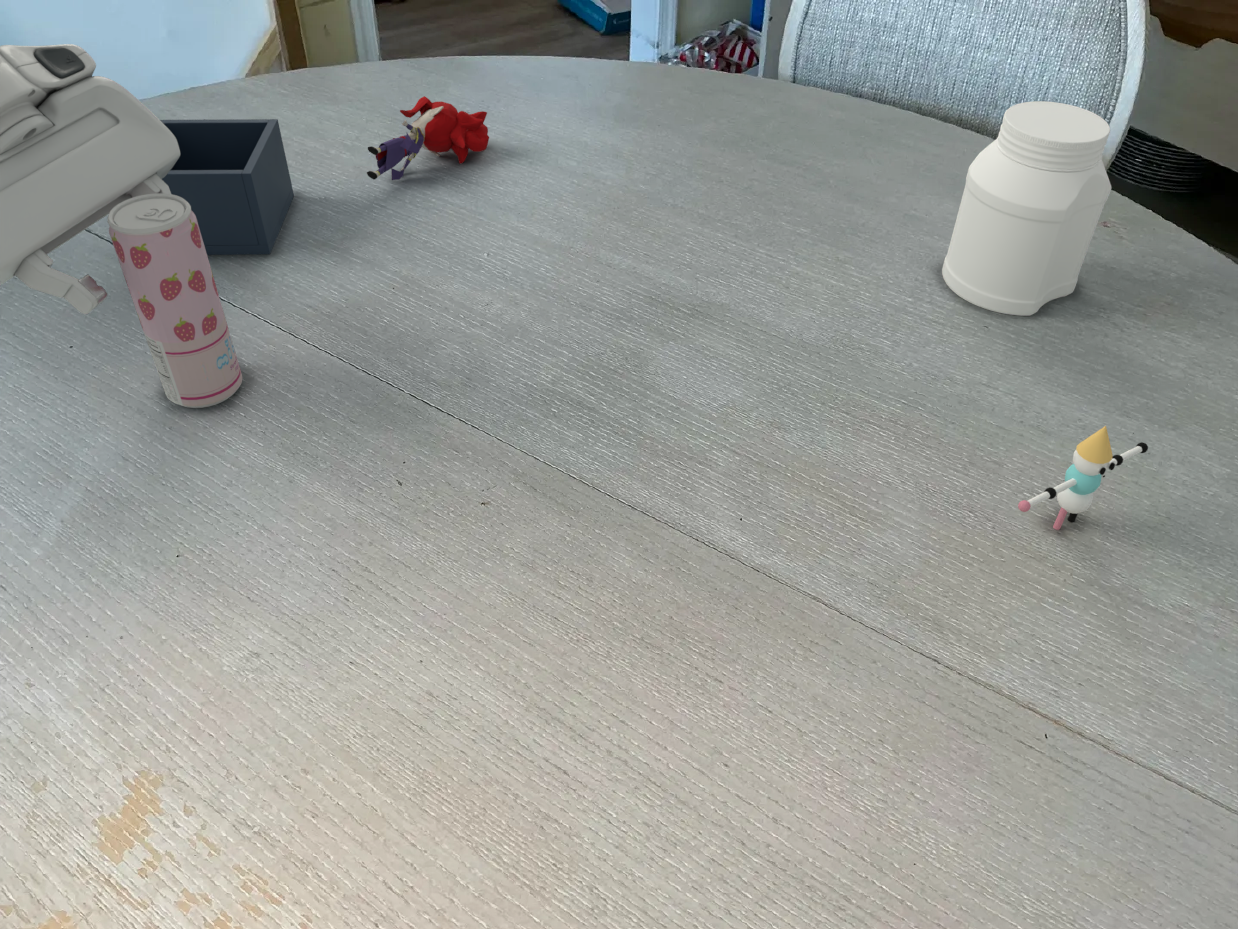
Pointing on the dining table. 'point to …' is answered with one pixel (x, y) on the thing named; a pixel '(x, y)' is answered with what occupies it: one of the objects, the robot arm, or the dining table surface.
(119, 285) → the dining table surface
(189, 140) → the bin
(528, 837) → the dining table surface
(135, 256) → the beverage can
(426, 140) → the figurine
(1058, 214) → the jar
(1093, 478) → the toy figure
